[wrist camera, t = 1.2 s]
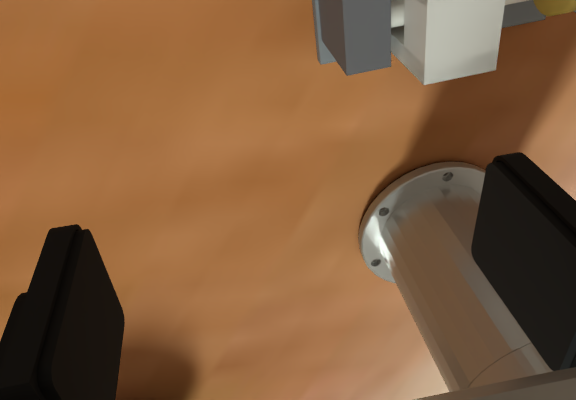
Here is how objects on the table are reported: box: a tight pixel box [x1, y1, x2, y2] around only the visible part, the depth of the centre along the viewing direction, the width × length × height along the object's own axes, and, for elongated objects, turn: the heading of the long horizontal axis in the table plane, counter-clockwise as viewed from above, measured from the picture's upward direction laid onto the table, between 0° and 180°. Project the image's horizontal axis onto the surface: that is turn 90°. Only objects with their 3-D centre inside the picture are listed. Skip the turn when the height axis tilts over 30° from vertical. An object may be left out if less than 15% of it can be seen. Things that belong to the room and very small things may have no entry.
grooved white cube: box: [391, 0, 505, 85], centre depth 25 cm, size 4×5×6 cm
